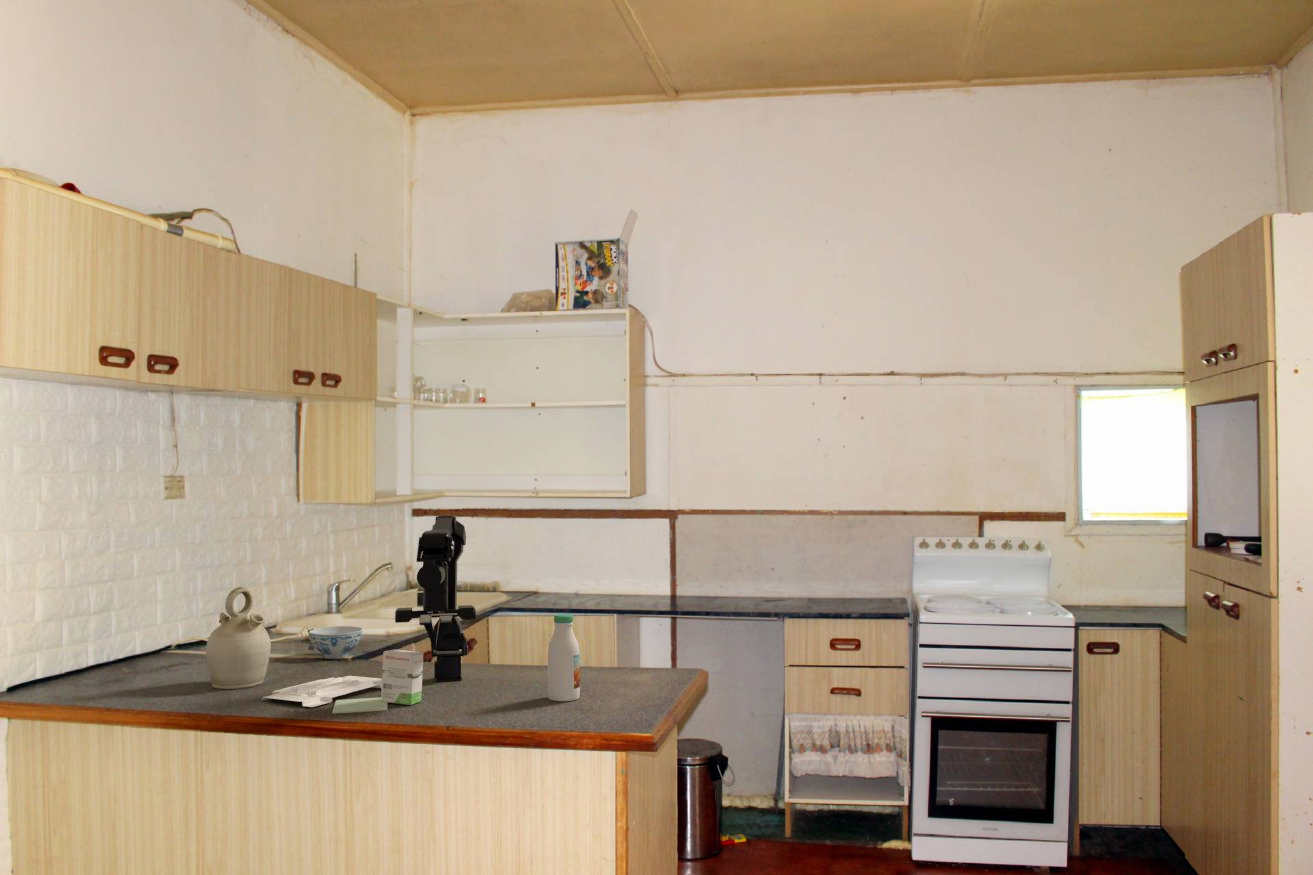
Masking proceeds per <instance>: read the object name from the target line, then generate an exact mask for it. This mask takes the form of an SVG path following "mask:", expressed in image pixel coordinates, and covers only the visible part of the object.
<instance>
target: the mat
mask: <svg viewBox="0 0 1313 875" xmlns="http://www.w3.org/2000/svg"><path fill="white" fill-rule="evenodd" d="M388 703H389V702H383V701H381V696H380V697H366V698H348V699H336V700H335V702H334V706H333V707H332V711H331V714H335V715H336V714H351V713H353V714H354V713H365V712H366V713H369V712H382V711H388V707H389V704H388Z"/></svg>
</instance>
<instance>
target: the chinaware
mask: <svg viewBox="0 0 1313 875" xmlns="http://www.w3.org/2000/svg"><path fill="white" fill-rule="evenodd" d="M362 634H363V628H362V627H359V626H350V625H349V626H347V625H346V626H345V625H344V626H338V625H337V626H336V625H335V626H326V627H318V628H313V629H310V630H309V638H310V640H311V643H312V645H313V646H314V648H315V649H316V650H317V651H318V652H320V653H321V654H322V655H323V657H324V658H325V659H342V658H346V657H348V656H349V653H350V652H351V651H353V649H355V648H356V646H357V645H358V644H359V642H360V640H361V637H362Z"/></svg>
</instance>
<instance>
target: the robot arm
mask: <svg viewBox="0 0 1313 875" xmlns="http://www.w3.org/2000/svg"><path fill="white" fill-rule="evenodd" d="M434 521H435V523H434V524H433V525H432V528H431V530H425V531H424V532H422V534H421V536H420V537H419V538H418V544H417V554H416V563H422V567H421V568H420V569H418V571H417V573H416V581H417V584H418V585H419V586H420V587H421V588H422V590H423V592H422V591H421V592H416V593H417V594H416V607H417V608H418V607H421V608H422V610H419V609H418V610H413V607H397V608H396V609H395V612H394V614H395V615H394V622H395V623H396V624H397V623H398V624H399V623H401V624H402V623H409V622H411V620H413V619H418V622H419V626H423V627H424V629H425V631H426V633H427V635H428V638H429V641H430V650H431V653H430V654H431V657H432V658H434V657H435V658H436V660H434V661H433V662H434V663H433V666H434V668H433V671H434V672H433V676H434V679H435V680H436V682H451V681H452V682H453V681H462V680H463V677H462V676H463V675H462V657H465V656H468V652H469V651H468V639H467V637H466V635H465V632H463V625H462V624H461V622H460V620H459V619H458V617H459V618H460V619H461V620H462V621H471V620H473V621H474V620H476V619H477V616H476V615H477V614H476V612H477V611H476V607H475V606H474V605H473V604H469V605H468V604H467V605H466V604H465V605H463V604H462V605H458V604H457V603H458V601H457V600H458V598H457V597H458V592H457V590H458V561H459V559H460V558H461V557H462V554H463V553H464V546H466V543H467V536H466V535H467V533H466V529H465V528H466V527H465V525H464V524H463V523H461V522H459V521H458V520H457V516H455V515H449V514H448V515H443V514H442V515H438V516H436V517H435V520H434ZM433 618H438V620H437V622H436V624H435V625H434V626H433Z"/></svg>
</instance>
